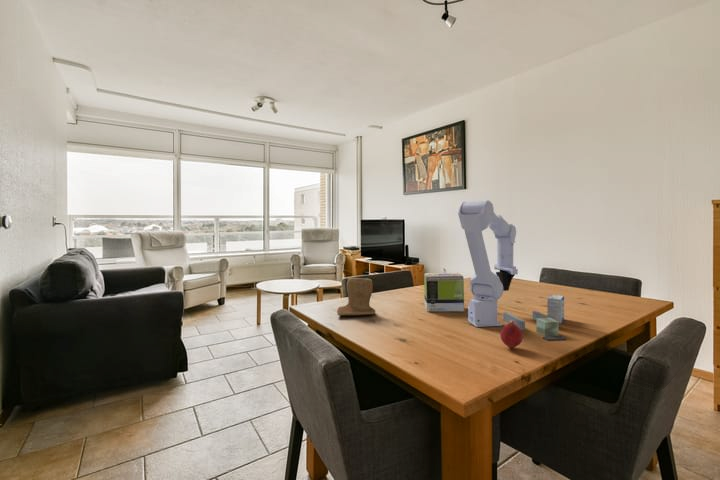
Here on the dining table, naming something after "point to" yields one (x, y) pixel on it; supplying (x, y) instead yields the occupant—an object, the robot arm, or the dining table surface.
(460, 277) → the tea box
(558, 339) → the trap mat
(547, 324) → the green block
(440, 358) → the dining table surface
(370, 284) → the brown flared block
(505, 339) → the onion
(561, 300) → the medicine box
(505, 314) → the tunnel
